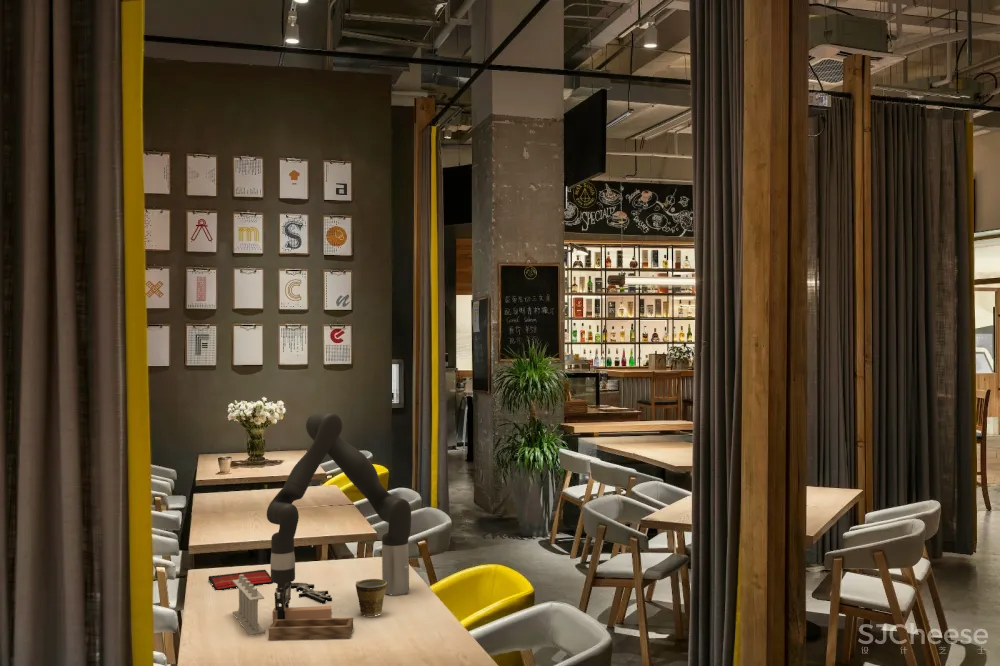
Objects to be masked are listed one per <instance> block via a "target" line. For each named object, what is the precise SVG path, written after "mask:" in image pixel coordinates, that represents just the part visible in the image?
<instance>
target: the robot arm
mask: <svg viewBox="0 0 1000 666" xmlns="http://www.w3.org/2000/svg"><path fill="white" fill-rule="evenodd" d="M305 430H306V432H307V435H308V436H309V437H310V438H311V440H312V441H313V442H312V444H311V445H310V447H309V449H308V450H307V451H306V453H305V454H304V455H303V456H302V457H301V458H300V459H299V460H298V462H297V463H296V464H295V465H294V467H293V468H292V469H291V471H290V473H289V475H288V477H287V479H286V481H285V483H284V486H282V488H281V489H280V491H278V493H276V495H275V496H274V498H273V499H272V500H271V502H270V503H269V505H268V506H267V509H266V519H267V520H268V522H269V523H271V524H274V525H277V526H279V529H278V532H275V533H273V534H272V536H271V544H270V545H271V547H270V548H271V551H270V552H271V554H270V577H271V582H273V583H272V584H277V587H276V588H275V592H274V608H275V611H277V619H285V608H290V602H291V599H292V598H291V593H292V589H291V583H293V582H294V581H295V580H296V557H295V535H296V533H297V528H298V523H299V519H300V518H299V515H300V514H299V511H298V508H297V506H296V505H294V504H293V503H294V502H295V501H297V500H301V499H303V497H304V496H305V493H306V492H307V489H308V487H309V485H310V484H311V482H312V479H313V477H314V475H315V474H316V472H317V470H318V468H319V467H320V465H321V463H322V462H323V461H324V459H325V458H326V456H327V455H328V456H329V457H330V458H331V459H332V460H333V462H334V464H336V465H337V466H338V468H339V469H340V470H341V471H342V472H343V474H344V475H345V477H346V478H348V480H349V481H350V483H352V484H353V485H354V487H356V489H357V490H358V491H359V492H360V494H362V495H363V496H364V497H365V498H366V500H367V501H368V502H369V504H370V505H371V507H372V508H373V510H374V511H375V512H376V514H377V516H378V517H379V518H380V520H382V521H383V522H385V523H388V530H387V533H384V534H383V535H382V536H381V560H382V561H381V563H382V565H381V568H382V569H381V571H382V572H381V574H382V575H381V576H382V578H381V580H385V581H386V582H387V585H386V591H385V595H386V594H392V595H391V596H399V595H398V594H402V595H405V594H404V593H408V594H409V592H410V562H409V538H410V535H411V529H412V507H411V505H410V503H409V501H407V499H405V498H401V497H396V496H393V495H392V494H391V493H390V492H388V491H387V490H386V488H385V487H384V486H383V485H382V483H381V482H380V478H379V475H378V472H377V469H376V468H375V466H374V464H373V463H372V462H371V461H370V460H369V458H367V456H366V455H365V454H364V453H363V452H361V451H360V450H358V449H357V448H356V447H354V446H353V445H351V444H349V443H348V442H346V441H345V440H344V439H343V438H342V437H341V436H340V435H341V433H342V431H343V421H342V419H341V418H340V416H339V415H337V414H336V413H332V412H317V413H314V414H312V415H310V416H309V417H308V418H307V420H306V423H305Z"/></svg>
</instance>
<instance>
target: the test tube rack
mask: <svg viewBox="0 0 1000 666" xmlns="http://www.w3.org/2000/svg"><path fill="white" fill-rule="evenodd" d="M233 582H234V584H235V585H236V586H237V587H238V588H237V589H238V610H234V611H232V615H233V614H234V615H235V616H236V617H237V619H238V620H239V621H240V622H241V624H242V625H243V626H244V627H243V626H242V625H241V624H240V625H241V626H242V627H243V628H245V629H246V630H247V631H246V630H245V629H244V630H245V631H246V633H247V634H248V633H249V634H250V635H253V636H257V635H256V634H259V635H263V634H262V633H265V634H266V631H265V630H264V629H263V627H262V626H261V625H260V624H259V622H258V621H259V620H258V619H259V615H258V614H259V613H258V611H259V610H258V607H259V601H261V600H265V597H264V595H263V594H262V593H260V591H258V587H256V586H254V585H253V584H251V583H250V581H248V580H247V578H244V575H239V579H238V580H233ZM234 615H233V616H234ZM235 616H234V617H235ZM236 617H235V618H236ZM237 619H236V620H237ZM238 620H237V621H238ZM239 621H238V622H239ZM240 622H239V623H240ZM249 634H248V635H249ZM250 635H249V636H250Z"/></svg>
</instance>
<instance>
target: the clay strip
mask: <svg viewBox="0 0 1000 666" xmlns="http://www.w3.org/2000/svg"><path fill="white" fill-rule="evenodd" d="M332 607H333V606H332V605H318V606H316V605H315V606H313V605H312V606H296V607H295V606H294V607H293V606H292V607H290V606H289V608H285V619H322V618H333V617H332V613H333V610H332ZM275 619H277V611H275V607H273V610H272V622H273V621H274V620H275Z"/></svg>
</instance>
